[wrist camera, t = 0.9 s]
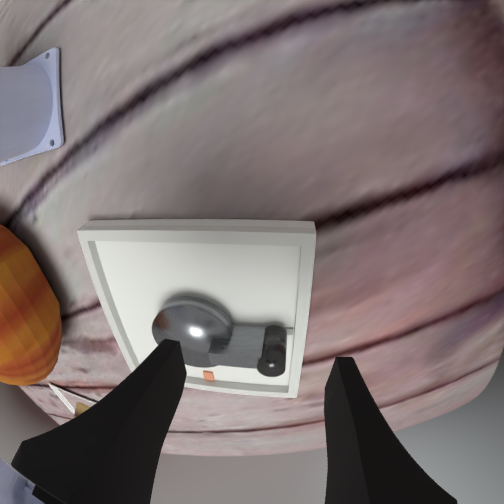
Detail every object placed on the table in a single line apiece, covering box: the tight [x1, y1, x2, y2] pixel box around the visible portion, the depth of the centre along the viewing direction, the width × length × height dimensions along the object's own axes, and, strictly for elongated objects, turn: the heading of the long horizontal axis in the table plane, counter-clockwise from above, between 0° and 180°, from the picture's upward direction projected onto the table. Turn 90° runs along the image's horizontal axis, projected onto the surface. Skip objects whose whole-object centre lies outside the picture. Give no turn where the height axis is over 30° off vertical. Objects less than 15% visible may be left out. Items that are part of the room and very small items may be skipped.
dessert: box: [48, 383, 97, 418], centre depth 36 cm, size 12×12×5 cm
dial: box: [152, 296, 287, 377], centre depth 19 cm, size 10×6×3 cm, turn 92°
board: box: [77, 219, 316, 398], centre depth 21 cm, size 16×16×2 cm
